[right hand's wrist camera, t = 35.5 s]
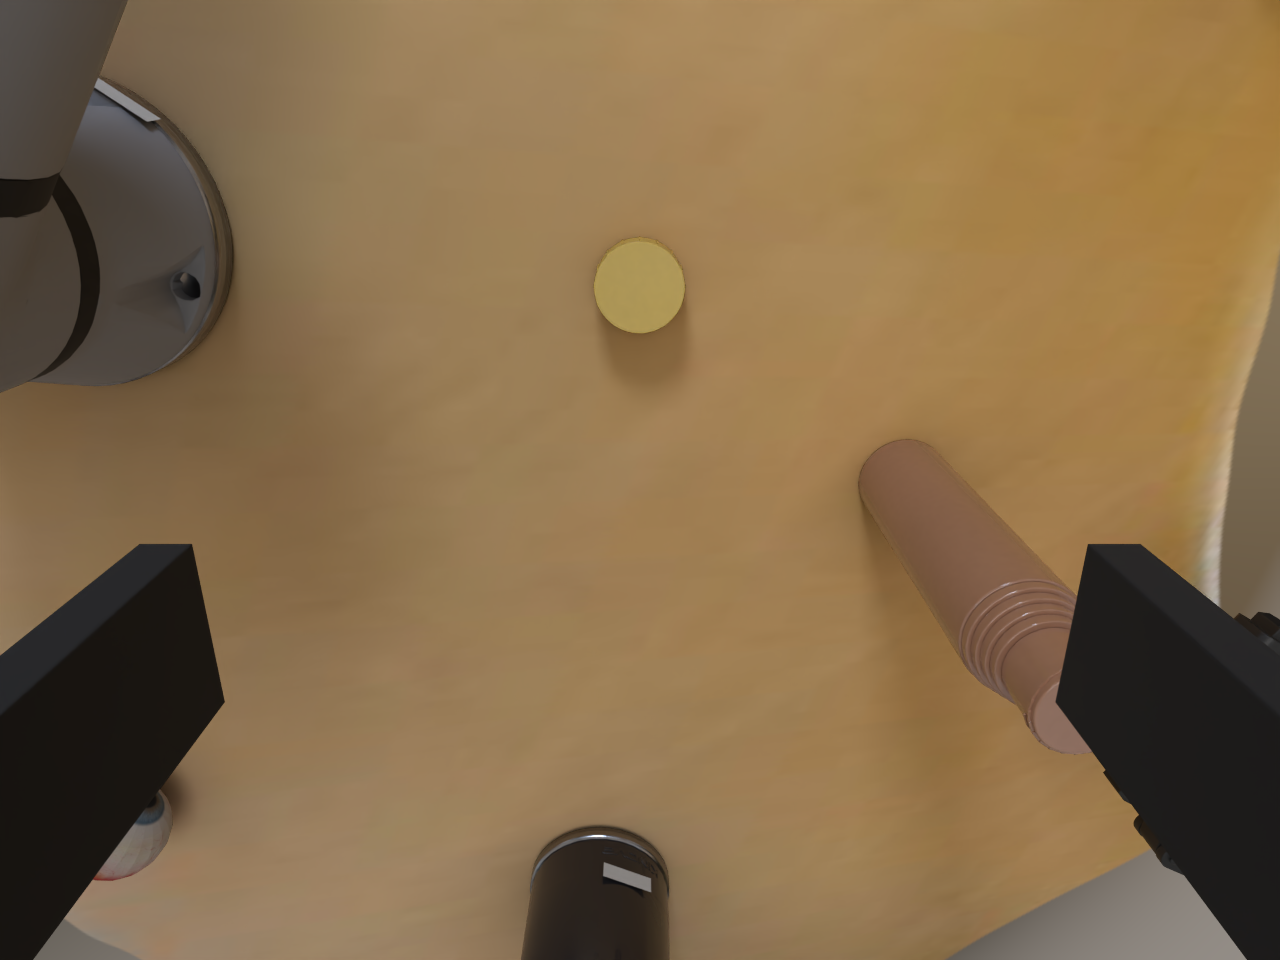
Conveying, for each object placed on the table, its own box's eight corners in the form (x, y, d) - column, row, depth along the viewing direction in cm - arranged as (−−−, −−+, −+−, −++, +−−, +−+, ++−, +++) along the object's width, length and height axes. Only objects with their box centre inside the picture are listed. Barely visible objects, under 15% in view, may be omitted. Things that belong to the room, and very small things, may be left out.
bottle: (841, 474, 49) (981, 705, 29) (915, 421, 48) (1115, 623, 28) (889, 536, 50) (1055, 797, 30) (962, 486, 49) (1185, 723, 29)
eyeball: (210, 791, 57) (163, 862, 51) (156, 844, 58) (105, 918, 53) (132, 738, 55) (74, 805, 50) (78, 794, 57) (17, 865, 51)
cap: (627, 342, 46) (626, 351, 44) (578, 269, 45) (575, 275, 43) (700, 294, 45) (702, 301, 43) (652, 218, 44) (652, 222, 42)
